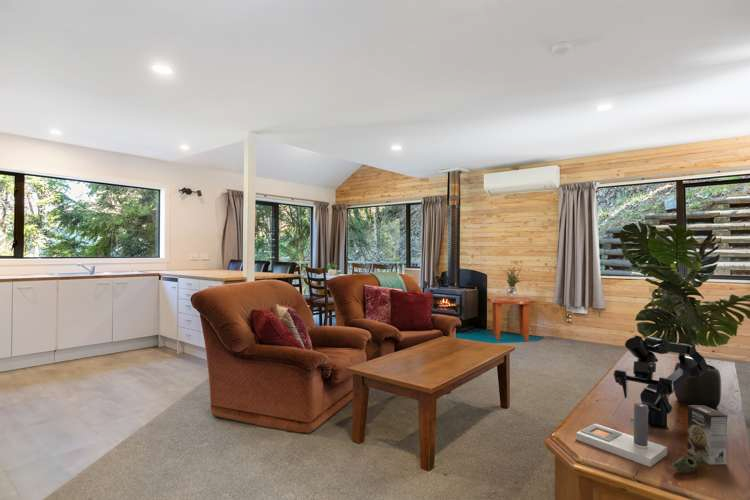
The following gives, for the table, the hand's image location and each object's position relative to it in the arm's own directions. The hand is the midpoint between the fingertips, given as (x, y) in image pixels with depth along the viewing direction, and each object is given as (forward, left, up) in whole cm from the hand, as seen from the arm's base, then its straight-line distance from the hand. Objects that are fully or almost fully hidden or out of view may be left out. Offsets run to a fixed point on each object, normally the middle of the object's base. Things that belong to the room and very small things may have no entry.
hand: (639, 400), depth 156 cm
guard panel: (+9, +10, -14) cm, 19 cm away
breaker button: (+14, +6, -13) cm, 20 cm away
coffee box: (-17, +11, -14) cm, 24 cm away
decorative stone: (-7, +23, -14) cm, 27 cm away
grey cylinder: (+4, +14, -11) cm, 18 cm away
